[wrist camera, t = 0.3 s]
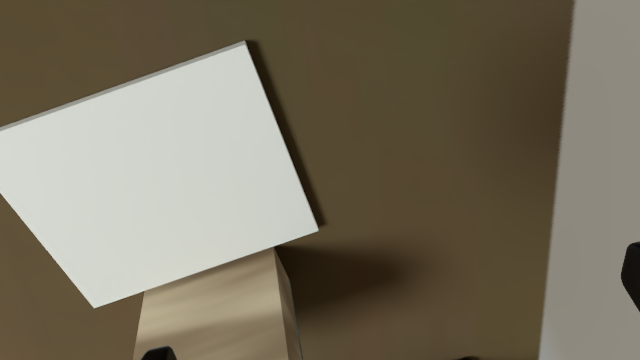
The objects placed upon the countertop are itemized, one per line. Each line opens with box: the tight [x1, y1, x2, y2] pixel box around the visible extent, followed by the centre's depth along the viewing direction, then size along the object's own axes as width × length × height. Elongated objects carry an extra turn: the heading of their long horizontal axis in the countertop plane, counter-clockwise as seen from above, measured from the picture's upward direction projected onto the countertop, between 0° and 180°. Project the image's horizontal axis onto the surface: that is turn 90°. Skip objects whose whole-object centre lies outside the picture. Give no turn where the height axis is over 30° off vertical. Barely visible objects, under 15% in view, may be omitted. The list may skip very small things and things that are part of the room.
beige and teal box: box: [133, 246, 303, 360], centre depth 24 cm, size 3×7×8 cm, turn 107°
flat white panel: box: [0, 41, 319, 308], centre depth 23 cm, size 10×12×1 cm
